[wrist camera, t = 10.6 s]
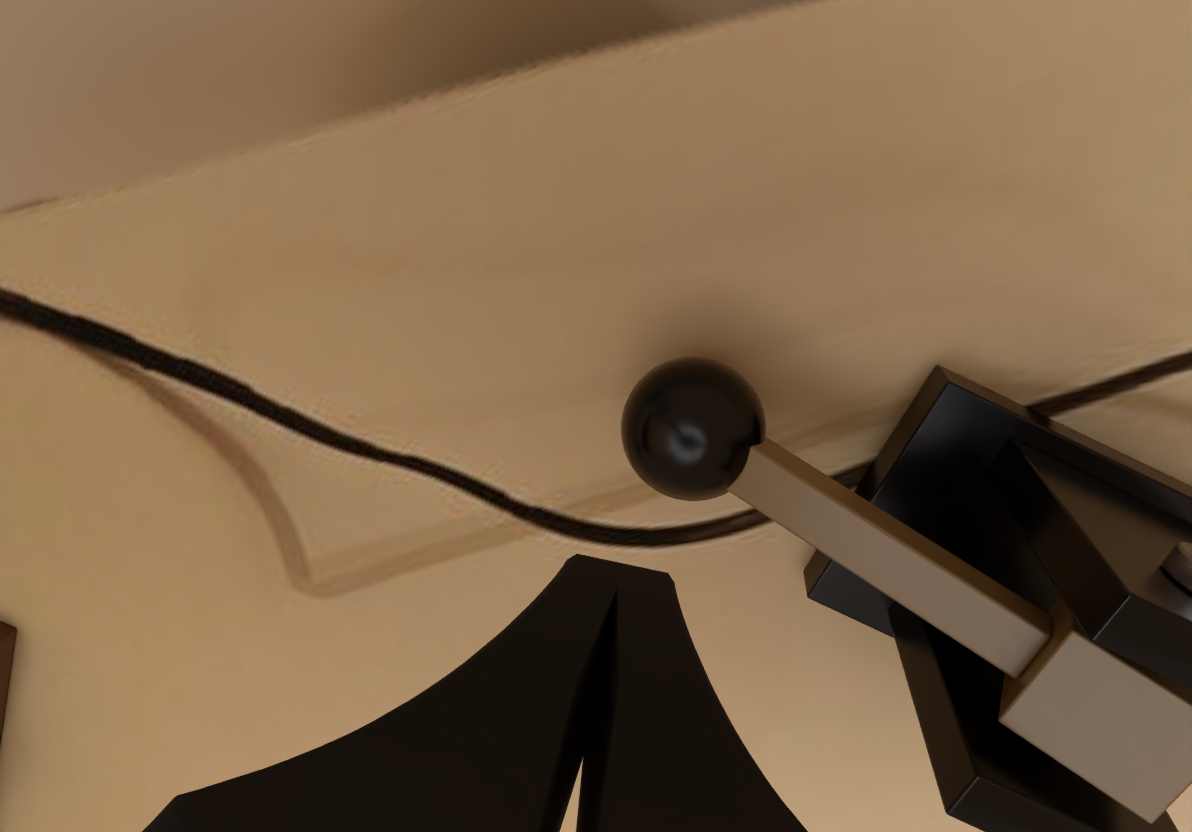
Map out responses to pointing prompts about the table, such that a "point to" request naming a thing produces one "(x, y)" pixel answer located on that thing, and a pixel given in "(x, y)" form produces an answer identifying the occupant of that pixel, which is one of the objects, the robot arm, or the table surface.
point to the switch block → (5, 664)
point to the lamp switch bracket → (1022, 585)
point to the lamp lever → (922, 586)
